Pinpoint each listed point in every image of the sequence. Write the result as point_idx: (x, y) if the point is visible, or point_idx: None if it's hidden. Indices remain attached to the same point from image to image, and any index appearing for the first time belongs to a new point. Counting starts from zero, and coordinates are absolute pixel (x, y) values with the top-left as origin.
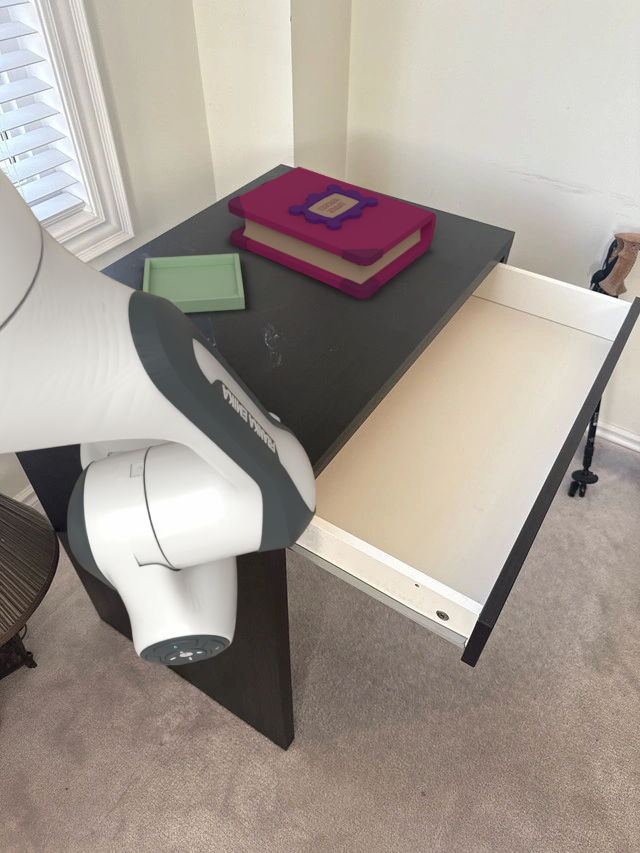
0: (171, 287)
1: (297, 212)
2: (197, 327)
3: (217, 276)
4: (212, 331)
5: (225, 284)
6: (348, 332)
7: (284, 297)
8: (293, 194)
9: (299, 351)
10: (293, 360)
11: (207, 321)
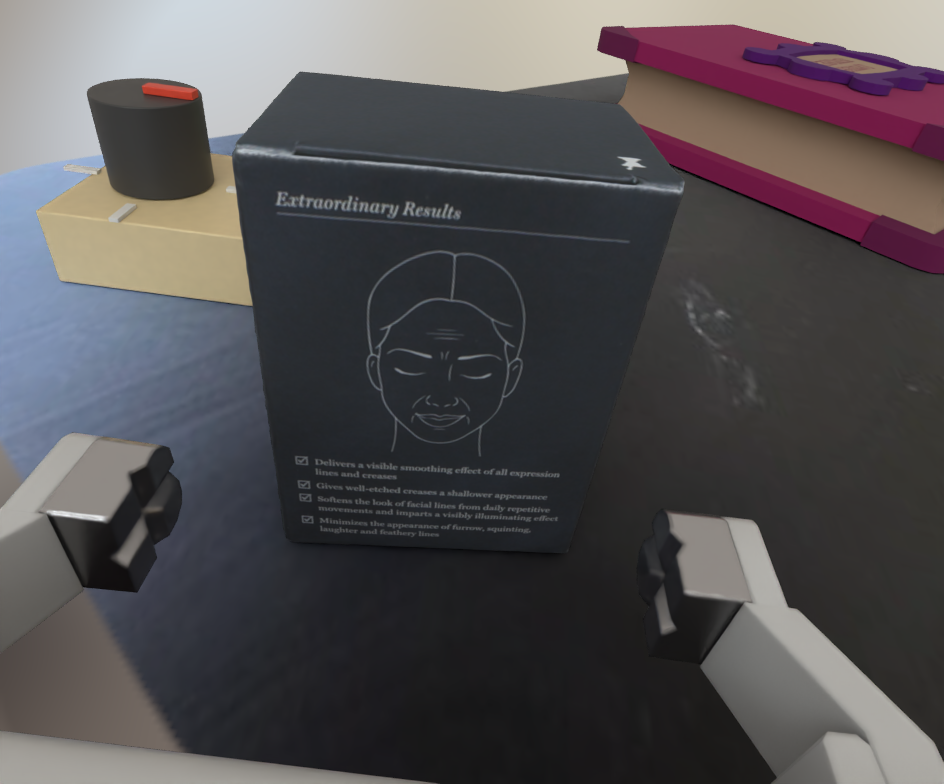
0: None
1: (769, 56)
2: (567, 115)
3: None
4: (650, 141)
5: None
6: (940, 346)
7: (719, 233)
8: (740, 44)
9: (808, 370)
10: (798, 395)
11: (615, 110)
